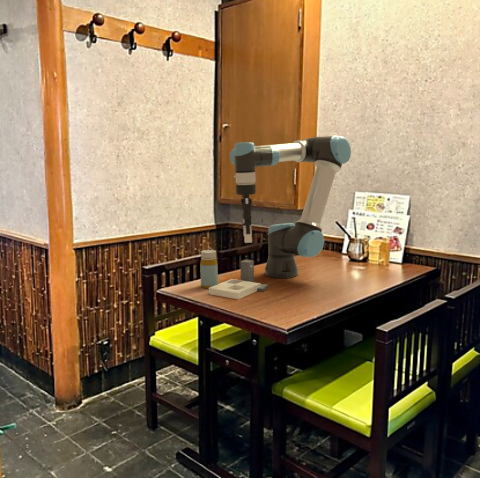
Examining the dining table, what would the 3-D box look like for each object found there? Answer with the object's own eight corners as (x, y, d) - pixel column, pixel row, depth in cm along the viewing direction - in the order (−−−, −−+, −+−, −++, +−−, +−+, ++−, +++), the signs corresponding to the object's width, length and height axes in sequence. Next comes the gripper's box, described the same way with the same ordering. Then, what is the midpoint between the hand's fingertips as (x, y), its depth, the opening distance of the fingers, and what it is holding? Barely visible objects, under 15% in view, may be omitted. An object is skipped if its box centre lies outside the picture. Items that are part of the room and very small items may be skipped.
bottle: (210, 283, 209) (209, 248, 206) (221, 286, 204) (220, 251, 201) (197, 286, 204) (196, 251, 201) (208, 289, 199) (207, 253, 196)
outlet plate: (232, 284, 206) (232, 278, 206) (260, 289, 198) (260, 283, 198) (208, 294, 193) (208, 287, 193) (238, 299, 185) (238, 292, 185)
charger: (246, 282, 209) (245, 259, 208) (254, 283, 207) (254, 260, 205) (240, 284, 206) (240, 261, 204) (249, 286, 204) (248, 262, 202)
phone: (260, 286, 203) (260, 283, 203) (268, 286, 202) (268, 284, 202) (255, 290, 196) (255, 288, 196) (263, 291, 195) (263, 288, 195)
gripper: (235, 181, 197) (237, 233, 201) (236, 187, 173) (238, 245, 177) (254, 180, 197) (255, 232, 201) (257, 186, 173) (259, 245, 177)
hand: (247, 239), depth 189 cm, fingers open, 13 cm apart
